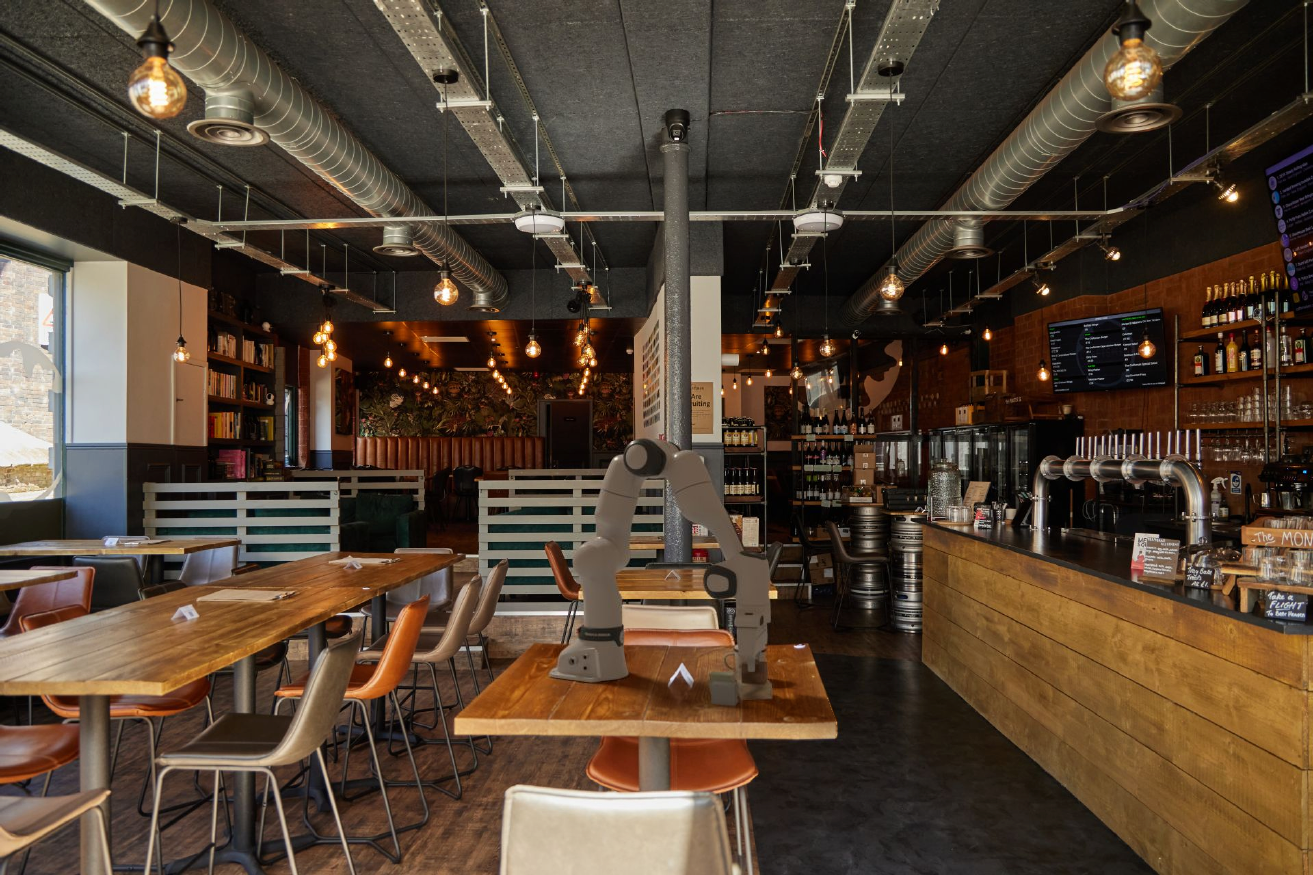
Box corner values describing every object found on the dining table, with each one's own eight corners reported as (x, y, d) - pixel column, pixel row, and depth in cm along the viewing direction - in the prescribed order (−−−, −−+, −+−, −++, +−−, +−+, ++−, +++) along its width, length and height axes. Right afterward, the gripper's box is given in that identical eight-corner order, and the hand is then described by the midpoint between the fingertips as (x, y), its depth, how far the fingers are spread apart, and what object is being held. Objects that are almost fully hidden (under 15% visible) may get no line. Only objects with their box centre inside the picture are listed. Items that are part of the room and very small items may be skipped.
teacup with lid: (767, 676, 242) (767, 634, 242) (766, 684, 233) (765, 641, 233) (725, 674, 244) (724, 633, 244) (722, 682, 235) (721, 640, 235)
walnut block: (741, 682, 220) (741, 663, 220) (744, 679, 223) (744, 660, 223) (764, 684, 218) (764, 664, 218) (767, 681, 221) (767, 661, 222)
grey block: (711, 704, 214) (711, 684, 214) (714, 700, 217) (714, 680, 217) (734, 706, 212) (734, 685, 212) (737, 702, 215) (737, 682, 216)
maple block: (741, 701, 217) (741, 685, 218) (737, 695, 222) (736, 680, 223) (772, 699, 219) (772, 683, 219) (767, 694, 224) (766, 678, 224)
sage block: (709, 693, 224) (709, 674, 225) (712, 690, 228) (712, 671, 228) (732, 695, 223) (731, 675, 223) (734, 691, 226) (734, 672, 226)
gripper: (749, 607, 232) (750, 659, 232) (732, 620, 213) (733, 676, 212) (772, 608, 230) (773, 660, 230) (757, 621, 211) (758, 678, 210)
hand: (754, 668), depth 221 cm, fingers open, 4 cm apart
